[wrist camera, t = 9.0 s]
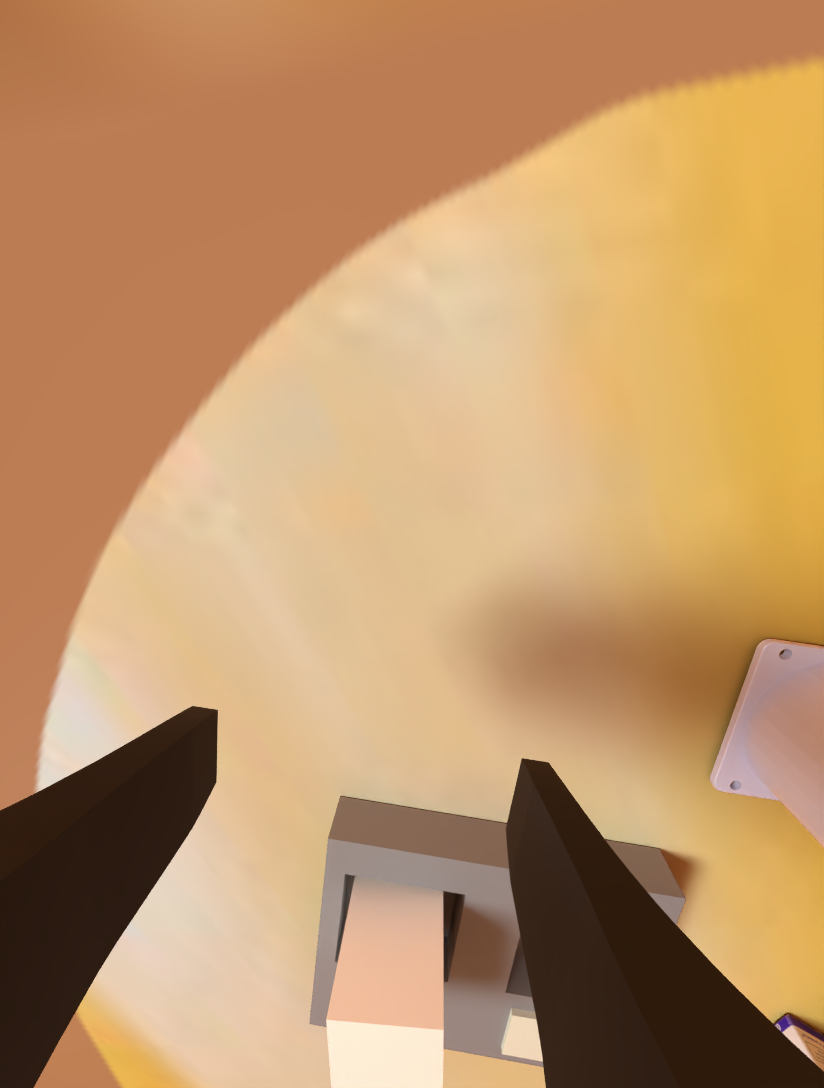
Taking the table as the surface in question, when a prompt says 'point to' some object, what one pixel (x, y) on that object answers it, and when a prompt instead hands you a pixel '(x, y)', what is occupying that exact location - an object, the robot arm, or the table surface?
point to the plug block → (388, 989)
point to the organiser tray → (456, 914)
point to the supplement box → (803, 1038)
